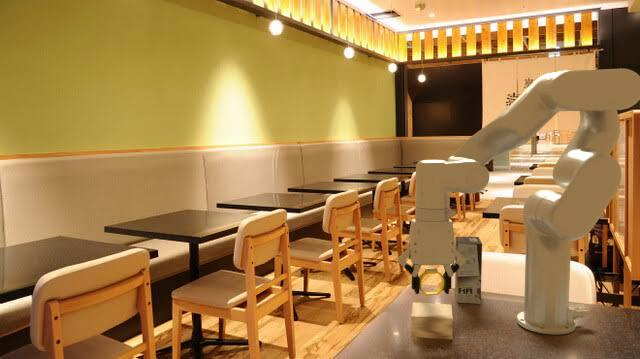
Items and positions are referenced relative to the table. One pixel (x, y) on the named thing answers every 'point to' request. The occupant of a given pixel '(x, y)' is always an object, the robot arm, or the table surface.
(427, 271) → the watch
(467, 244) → the coffee box
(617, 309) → the table surface
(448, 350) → the table surface
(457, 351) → the table surface
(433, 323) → the wood block
